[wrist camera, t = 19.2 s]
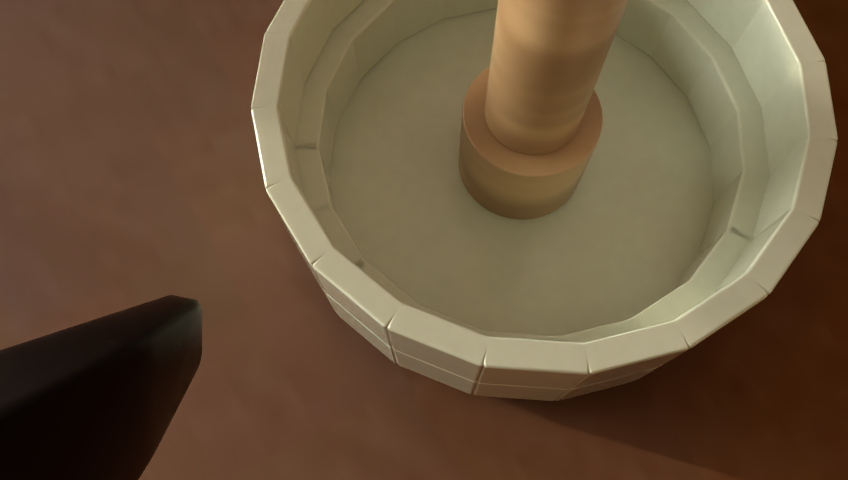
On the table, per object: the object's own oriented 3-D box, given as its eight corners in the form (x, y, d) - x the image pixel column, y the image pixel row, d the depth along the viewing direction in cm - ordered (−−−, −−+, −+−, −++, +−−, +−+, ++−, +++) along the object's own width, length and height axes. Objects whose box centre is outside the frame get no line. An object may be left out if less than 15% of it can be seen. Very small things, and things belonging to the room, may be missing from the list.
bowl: (568, 514, 18) (614, 520, 14) (198, 199, 22) (133, 117, 17) (832, 146, 22) (939, 51, 17) (481, -74, 25) (491, -203, 21)
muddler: (600, 197, 21) (794, -152, 10) (483, 236, 21) (543, -81, 9) (552, 96, 22) (673, -316, 11) (441, 130, 22) (449, -261, 11)
